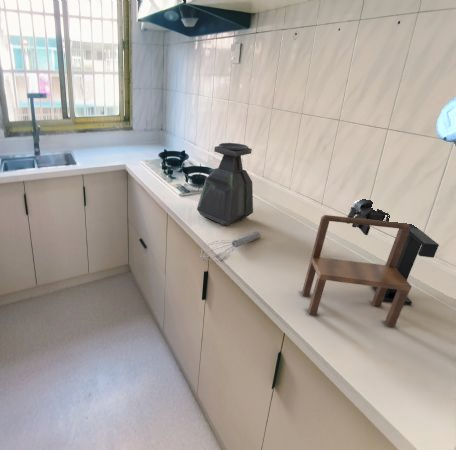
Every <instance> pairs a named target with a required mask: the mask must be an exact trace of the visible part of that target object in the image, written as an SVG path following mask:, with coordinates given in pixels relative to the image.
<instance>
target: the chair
mask: <svg viewBox="0 0 456 450" xmlns="http://www.w3.org/2000/svg"><path fill="white" fill-rule="evenodd" d="M330 222H334V223H344V224H347V223H350V224H361V225H369V226H370V227H371V226H372V227H379V228H380V227H381V228H390V229H391V228H392V229H398V230H397V233H396V234H395V235H396V236H395V238H394V241H393V243H392V247H391V249H390V252H389V255H388V257H387V260H386V263H385V264H377V263H370V262H361V261H354V260H345V259H337V258H331V257H330V258H329V257H321V254H322V250H323V246H324V243H325V239H326V235H327V233H328V228H329V226H330V225H329V224H330ZM410 229H411V228H410V227H409V224H407V223H398V222H388V221H385V220H384V221H378V220H369V219H359V218H355V217H354V218H350V217H348V216H340V215H330V214H329V215H328V214H323V215H322V216H321V218H320V221H319V225H318V229H317V233H316V236H315V240H314V244H313V248H312V252H311V256H310V260H309V264H308V267H307V271H306V275H305V277H304V283H303V287H302V291H301V294H302V296H303V297H310V294H311V291H312V287H313V284H314V279H315V276H316V275H317V276H316V281H315V284H314V288H313V292H312V294H311V295H312V296H311V299H310V302H309V306H308V309H307V312H308V314H309V316H310V315H311V316H315V317H316V316H317V313H318V310H319V307H320V304H321V300H322V296H323V294H324V293H323V292H324V289H325V285H326V282H327V281H330V282H338V283H346V284H353V285H361V286H366V287H367V286H369V287H373V286H374V287H377V290H376V291H375V292H374V295H373V298H372V300H371V303H372V305H373V306H374V307H379V308H381V307H382V304H383V302H384V301H383V299H384V296H385V294H386V291H387V289H388V288H389V289H397V292H396V295H395V297H394V300H393V302H391V305H390V308H389V310H388V312H387V315H386V317H385V320H384V324H385V325H386V327H388V328H395V327H396V324H397V322H398V320H399V317H400V315H401V313H402V309H403V308H404V306H405V304H404V303H405V300H406V298H407V297H408V296H409V293H410V291H411V288H412V285H411V284H410V283H409V282H408V280H407V281H406V279H405V278H404V277H403V276H402V275H401V274H400V273H399V271H398V270H397V269H396V265H397V263H398V260H399V257H400V255H401V252H402V249H403V247H404V244H405V242H406V239H407V236H408V234H409V231H410Z"/></svg>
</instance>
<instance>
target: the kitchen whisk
mask: <svg viewBox="0 0 456 450" xmlns="http://www.w3.org/2000/svg"><path fill="white" fill-rule="evenodd" d="M261 233H262V231H252V232H250V233H248V234H245V235H242V236H240V237H238V238H236V239H233V240H231V241H222V243H220V244H218V240H217V241H212V242H210V243H209V244H207V245H205V246H203V247H201V250H200V251H201V254H200V257H203V262H208V261H210V262H209V264H210V265H213V264H215V263H218V262H219V261H222V260H224V259H225V258H227V257H229V255H230V254H231V253H233V252H234V250H235V248H239V247H241V246H243V245H246V244H247V243H250V242H252V241H255V240H258V239H259V238H260V237H261ZM213 244H214V245H216V246H214V247H212V248H211V249H210V250H208V251H206V249H207V247H209V246H212V245H213ZM217 244H218V245H217ZM226 244H227V245H226ZM222 245H223V246H222ZM219 246H220V247H219ZM228 246H230V247H229V248H226V249H225V250H223V251H221V252H220V253H217V254H213V255H212V257H211V258H209V257H210V255H208V253H210V252H212V251H215V250H219V249H221V248H225V247H228ZM203 250H204V252H203ZM229 250H230V251H229ZM227 251H229V252H228V253H227V254H225V255H224V256H223V257H222V258H220V259H218V260H216V261H214V262H212V259H214V258H216V257H218V256H219V255H221V254H223V253H225V252H227Z"/></svg>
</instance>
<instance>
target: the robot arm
mask: <svg viewBox="0 0 456 450" xmlns="http://www.w3.org/2000/svg"><path fill="white" fill-rule="evenodd" d="M435 130H436V135H437V136H438V137H439V139H440V140H441V141H442V140H444V141H446V142H449V143H454V144H455V146H456V96H455V97H453V98H452V99H450V101H448V102H447V103H446V104H445V105H444V107H443V108H442V109H441V111H440V114H439V116H438V117H437V120H436V126H435ZM358 201H359V200H357V201H355V202H354V203H353V206H352V207H351V208H350V209H349V213H348V215H347V217H350V218H359V219H369V220H378V221H383V220H384V221H388V222H389V218H390V215H389V214H388V213H389V212H388V213H385V212H386V211H385V212H383V211H382V210H379V209H377V211H375V210H373V208H371V207H372V204H373V202H372V201H371V200H366V199H362V200H360V201H359V202H358ZM385 215H387V217H386V219H384V218H385ZM388 215H389V216H388ZM388 217H389V218H388ZM346 224H348V225H350V224H352V223H346ZM351 227H352V228H357V229H359V230H360V231H361V232H362V234H363V235H364V236H368V235H369V232H370V230H371V225H361V224H352V225H351ZM409 227H410V228H412V229H419V228H417V227H415V226H414V225H412V224H409Z"/></svg>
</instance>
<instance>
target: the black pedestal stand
mask: <svg viewBox="0 0 456 450" xmlns="http://www.w3.org/2000/svg"><path fill="white" fill-rule="evenodd" d="M439 246H440V244H439V243H438V242H436V241H435V240H434V239H432V238H431V237H430V236H429V235H428V234H426V233H425V232H424V231H422V230H421V229H420V228H418V229H412V228H411V229H410V231H409V234H408V236H407V239H406V242H405V244H404V247H403V249H402V252H401V255H400V257H399V260H398V263H397V265H396V269H397V270H398V271H399V273H400V274H401V275H402V276H403V277H404V278H405V279H406V281H407V282H408V278H409V276H410V274H411V271H412V269H413V267H414V264H415V261H416V258H417V256H419V257H423V258H431V259H433V258H435V255H436V253H437V252H438V248H439ZM372 288H373V290H374V291H375V292H376V290H377V287H374V286H372ZM396 292H397V289H389V288H388V289H387V291H386V294H385V296H384V299H383V302H385V303H392V302H393V300H394V297H395V295H396ZM412 302H413V301H411V299H410V298H409V297H408V296H407V298H406V300H405V303H404V305H407V306H411V305H412Z"/></svg>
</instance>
